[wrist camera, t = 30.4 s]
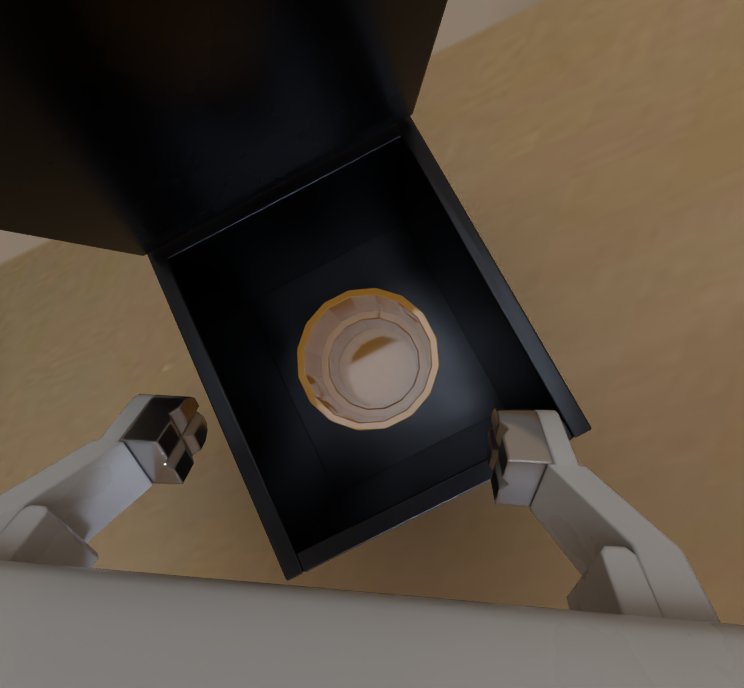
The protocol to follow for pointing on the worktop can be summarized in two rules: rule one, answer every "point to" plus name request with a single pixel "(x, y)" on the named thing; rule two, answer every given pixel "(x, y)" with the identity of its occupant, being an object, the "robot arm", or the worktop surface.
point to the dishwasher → (302, 300)
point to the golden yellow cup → (368, 359)
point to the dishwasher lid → (189, 105)
